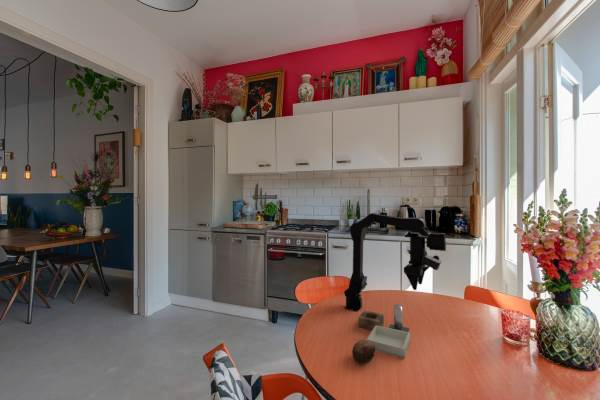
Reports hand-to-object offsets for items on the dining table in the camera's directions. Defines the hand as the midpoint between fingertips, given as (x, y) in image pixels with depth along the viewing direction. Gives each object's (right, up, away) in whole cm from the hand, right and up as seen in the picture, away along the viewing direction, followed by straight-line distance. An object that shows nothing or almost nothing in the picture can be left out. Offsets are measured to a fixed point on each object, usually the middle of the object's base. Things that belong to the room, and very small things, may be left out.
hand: (417, 286), depth 110 cm
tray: (-18, -14, -18) cm, 29 cm away
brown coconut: (-28, -15, -26) cm, 41 cm away
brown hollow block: (-20, -14, -4) cm, 25 cm away
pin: (-11, -14, -8) cm, 19 cm away
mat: (-11, -14, -8) cm, 19 cm away
